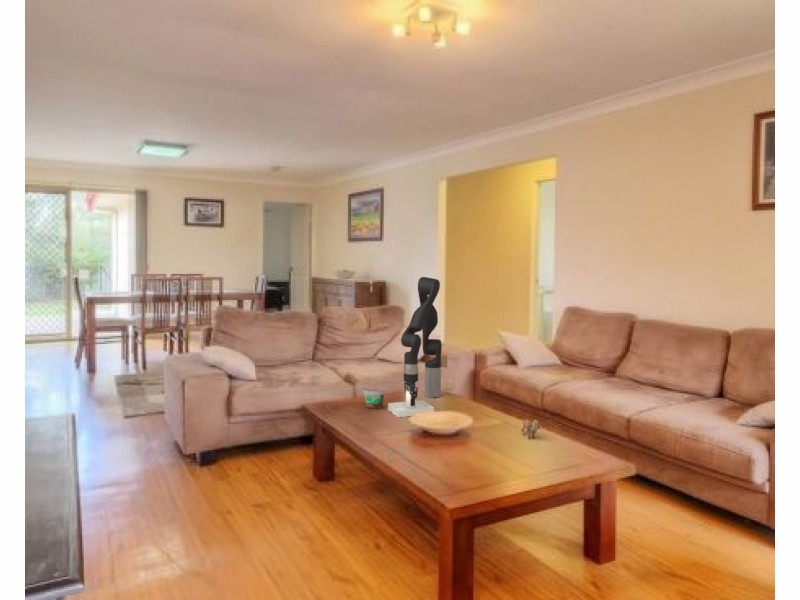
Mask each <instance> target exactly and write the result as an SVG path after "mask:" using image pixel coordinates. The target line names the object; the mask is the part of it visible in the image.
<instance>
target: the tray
mask: <svg viewBox="0 0 800 600" xmlns="http://www.w3.org/2000/svg"><path fill="white" fill-rule="evenodd" d="M387 410H388V411H389V412H390V411H391V412H392V413H391V412H390V413H391V414H392V415H393V416H395V415H396V416H397V417H403V418H408V417H407V416H411V415H413V414H415V413H419V412H425V411H434V412H435V407H434V406H432V404H431V405H430V404H429V403H428V402H426V401H424V400H422V399H420V400H416V408H415V409H406V401H400V402H388V404H387ZM396 416H395V417H396ZM397 417H396V418H397Z"/></svg>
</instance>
